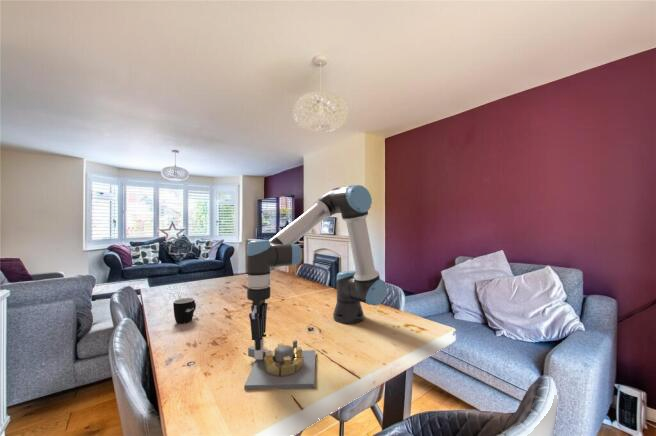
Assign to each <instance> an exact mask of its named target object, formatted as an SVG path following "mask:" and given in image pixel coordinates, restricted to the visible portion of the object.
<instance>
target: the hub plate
mask: <svg viewBox="0 0 656 436" xmlns="http://www.w3.org/2000/svg"><path fill="white" fill-rule="evenodd" d="M297 347H298V340H293V341H292V345H285V344H284V345H283V346H279V347H278V346H277V347H276V348H275V349H274V350H275V362H277V363H281V364H283V357H288V356H290V358H291V362H292V361H293V349H295V348H297ZM272 351H273V350H271V352H272ZM302 355H303V357H304V365H303V367H302V368H301V369H300V370H299V371H298V372H295V373H294V374H289V375H284V376H281V375H279V376H277V375H273V374H270V373H267V372H266V369H265V366H264V360H260V359H255V361H254V363H253V366H252V367H251V370H250V372H249V373H248V376H247V379H246V381H245V383H244V387H243V389H244V390H276V389H277V390H281V389H282V390H283V389H284V390H285V389H286V390H287V389H315V374H316V372H315V371H316V350H314V349H313V350H311V349H309V350H308V349H307V350H302Z"/></svg>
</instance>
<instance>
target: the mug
mask: <svg viewBox="0 0 656 436" xmlns="http://www.w3.org/2000/svg"><path fill="white" fill-rule="evenodd" d="M172 305H173V316H174V320H175V323H176V324H179V325H184V324H189V323H190V322H192V320H193V318H194V313H195V310H196V307H197V304H196V301H195V298H193V297H183V298H178V299H175V300H174V301H173V304H172Z"/></svg>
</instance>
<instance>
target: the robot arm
mask: <svg viewBox="0 0 656 436" xmlns="http://www.w3.org/2000/svg"><path fill="white" fill-rule="evenodd" d="M372 201H373V200H372V196H371V192H370V191H369V189H368V188H366V187H365V186H364V185H359V184H351V185H347V186H342V187H334V188H332V189H331V190H328V191H327V192H326V193H324V194H323V195H322V196H320V197H319V198H318V199H316V201H314V203H313V206H311V207H310V208H309V209H308V210H307V211H305V212H304V213H302V214H301V215H300V216H299V217H297V218H296V219H295V220H293V221H292V222H291V223H289V224H288V225H287V226H286V227H284V228H283V229H282V230H280V231H279V232H278V233H276V235H274V236H273V237H271V238H270V239H259V240H258V239H257V240H250V241H249V242H248V243H247V247H246V262H247V263H246V264H247V265H246V266H247V267H246V268H247V269H246V271H247V274H246V277H245V280H247V282H246V283H247V285H246V286H247V287H248V288H247V290H246V293H247V294H246V296H247V297H246V299H247V300H248V301H251V302H252V304H251V310H250V311H251V312H249V313H248V317H249V322H250V332H251V340H252V341H254V344H253V346H254V360H256V359H263V358H264V349H265V348H264V338H266V337H267V334H266V327H267V313H268V312H267V311H268V305H269V304H268V302H266V300H269V299H270V298H271V268H277V267H288V266H295V265H299V264H300V263H301V262H302V259H303V251H302V250H303V249H302V248H301V246H300V245H299V244H295V243H297V242H298V241H300V239H301V238H303V236H305V235H306V234H308V232H310V231H312V229H314V228H315V227H316V226H318V224H320V223H321V222H322V221H323V220H324V219H325V220H326V219H329V218H330V217H331V216H334V215H337V214H341V218H342V220H343V221H345V222H346V227H347V232H348V239H349V242H350V247H351V253H352V259H353V265H354V268H355V269H354V270H346V271H344V270H343V271H340V272H338V273H337V274H336V280H335V281H336V304H335V307H334V310H333V312H332V316H333V317H332V318H333V320H334V321H336V322H338V323H341V324H357V323H361V322H363V321H364V320H365V315H364V313H365V312H364V310H363V307H362V304H361V303H363V304H366V305H369V306H370V305H371V306H376V307H377V306H379V305H380V304H382V303H383V302H384V301H385V299H386V296H387V293H388V286H387V282H385V280H383V279H381V277H380V273H379V271H378V270H376V268H375V264H374V263H375V262H374V259H373V258H374V257H373V252H372V247H371V246H372V245H371V242H370V236H369V228H368V224H367V217H368V215H369V210H371V207H372V206H371V205H372V203H373V202H372Z"/></svg>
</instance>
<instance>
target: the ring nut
mask: <svg viewBox="0 0 656 436" xmlns="http://www.w3.org/2000/svg"><path fill="white" fill-rule="evenodd" d="M283 345H285V343H284V342H283V343H278V344H277V347H279V346H283ZM271 351H272V352H271ZM302 351H303V349H302V346H297V348H295V349H293V361H292V362H291V358H290V356H288V357H283V364H281V363H277V362H275V349H274V350H270V349H266V348H264V358H263V359H260V360H264V366H265V369H266V372H267V373H270V374H273V375H277V376H279V375H281V376H284V375H289V374H294V373H295V372H298V371H299V370H300V369H301V368H302V367H303V365H304V357H303V355H302ZM247 357H248V358H249V357H250V358H254V345H251V346H249V347H248V348H247Z"/></svg>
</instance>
